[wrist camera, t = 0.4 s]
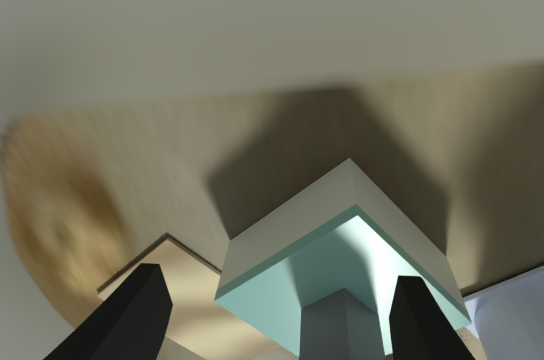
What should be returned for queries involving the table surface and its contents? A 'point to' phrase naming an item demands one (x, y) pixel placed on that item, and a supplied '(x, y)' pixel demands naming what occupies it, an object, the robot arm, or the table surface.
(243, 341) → the cork mat
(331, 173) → the storage box
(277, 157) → the table surface
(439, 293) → the lid
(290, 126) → the table surface
